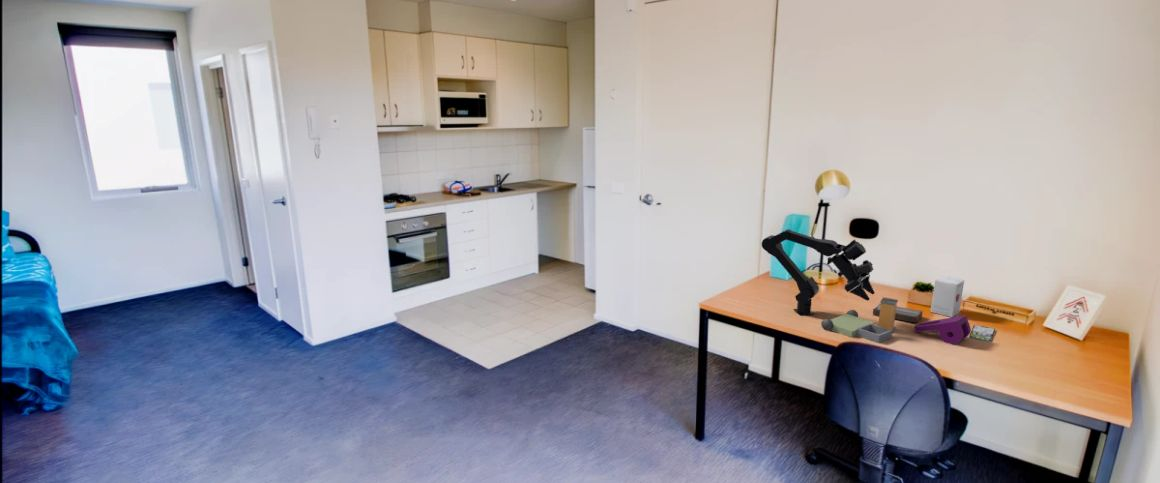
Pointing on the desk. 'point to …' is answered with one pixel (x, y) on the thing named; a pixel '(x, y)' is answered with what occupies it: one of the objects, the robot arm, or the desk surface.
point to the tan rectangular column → (887, 313)
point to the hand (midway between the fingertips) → (871, 296)
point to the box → (903, 314)
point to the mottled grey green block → (982, 333)
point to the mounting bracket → (947, 328)
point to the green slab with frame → (856, 327)
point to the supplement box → (947, 296)
